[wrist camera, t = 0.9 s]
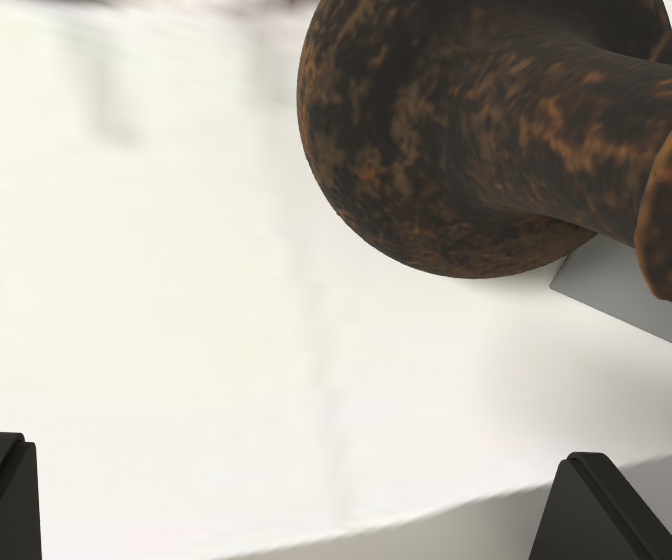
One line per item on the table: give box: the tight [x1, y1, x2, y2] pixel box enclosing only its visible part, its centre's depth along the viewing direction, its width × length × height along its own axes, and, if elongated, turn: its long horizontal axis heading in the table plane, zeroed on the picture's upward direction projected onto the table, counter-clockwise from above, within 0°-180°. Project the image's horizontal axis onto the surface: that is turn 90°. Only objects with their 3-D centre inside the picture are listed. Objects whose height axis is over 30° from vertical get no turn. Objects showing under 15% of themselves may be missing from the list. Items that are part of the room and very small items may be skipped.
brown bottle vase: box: [297, 0, 672, 302], centre depth 24 cm, size 18×18×28 cm
